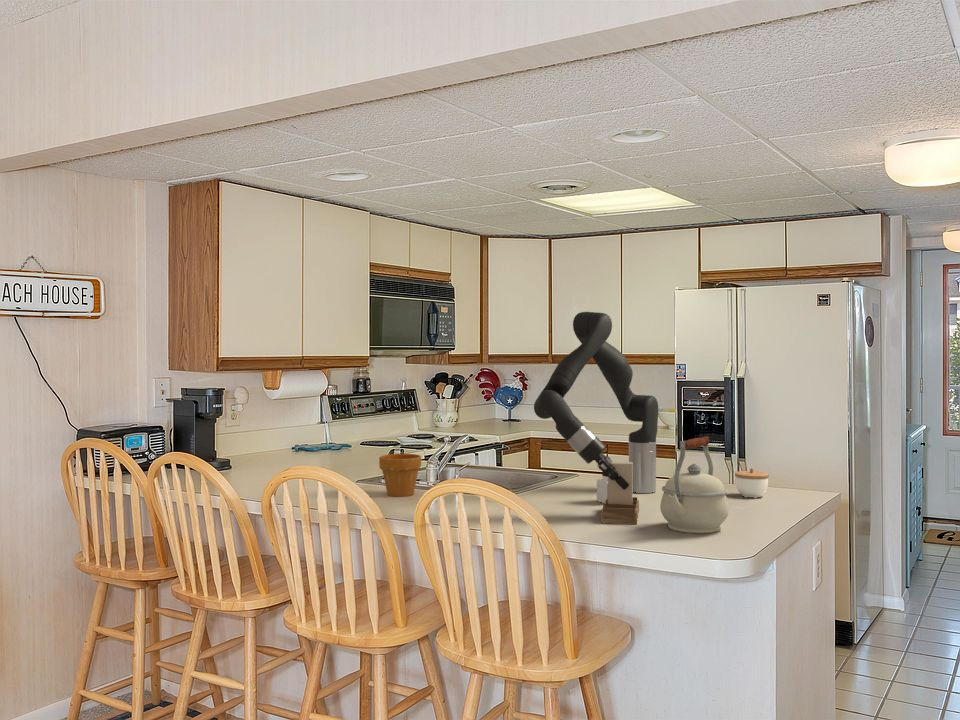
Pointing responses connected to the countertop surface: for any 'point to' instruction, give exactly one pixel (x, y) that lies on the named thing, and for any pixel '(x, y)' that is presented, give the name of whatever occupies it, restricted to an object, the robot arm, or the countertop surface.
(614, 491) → the tall beige block
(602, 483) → the medicine bottle
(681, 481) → the kettle
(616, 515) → the rack
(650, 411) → the robot arm
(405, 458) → the flower pot
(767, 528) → the countertop surface
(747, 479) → the lidded jar
